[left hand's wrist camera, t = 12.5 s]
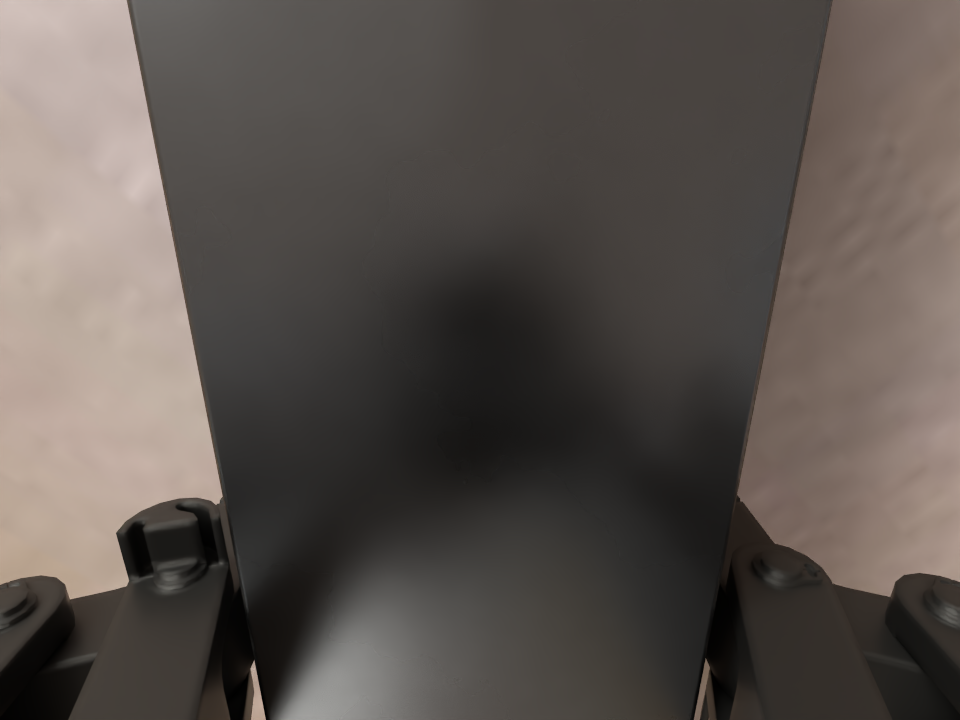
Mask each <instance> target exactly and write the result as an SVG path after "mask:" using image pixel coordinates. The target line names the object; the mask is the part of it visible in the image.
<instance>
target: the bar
mask: <svg viewBox="0 0 960 720" xmlns="http://www.w3.org/2000/svg"><path fill="white" fill-rule="evenodd" d="M127 3H128V8H129V13H130V19H131V24H132V29H133V34H134V39H135V44H136V50H137V55H138V60H139V65H140V70H141V75H142V81H143V86H144V91H145V96H146V101H147V107H148V112H149V117H150V122H151V127H152V132H153V138H154V143H155V148H156V153H157V158H158V163H159V169H160V174H161V179H162V184H163V189H164V194H165V200H166V205H167V210H168V215H169V220H170V225H171V231H172V236H173V241H174V246H175V251H176V257H177V262H178V267H179V272H180V277H181V282H182V288H183V293H184V298H185V303H186V308H187V313H188V319H189V324H190V329H191V334H192V339H193V344H194V350H195V355H196V360H197V365H198V370H199V375H200V381H201V386H202V391H203V396H204V401H205V407H206V412H207V417H208V422H209V427H210V432H211V438H212V443H213V448H214V453H215V458H216V463H217V469H218V474H219V479H220V484H221V489H222V494H223V500H224V505H225V510H226V515H227V520H228V525H229V531H230V536H231V541H232V546H233V551H234V557H235V562H236V567H237V572H238V577H239V582H240V588H241V593H242V598H243V603H244V608H245V613H246V619H247V624H248V629H249V634H250V639H251V644H252V650H253V655H254V660H255V665H256V670H257V675H258V681H259V686H260V691H261V696H262V701H263V707H264V712H265V717H266V720H694V715H695V710H696V705H697V700H698V695H699V689H700V684H701V679H702V674H703V669H704V663H705V658H706V653H707V648H708V643H709V638H710V632H711V627H712V622H713V617H714V612H715V606H716V601H717V596H718V591H719V586H720V581H721V575H722V570H723V565H724V560H725V555H726V549H727V544H728V539H729V534H730V529H731V524H732V518H733V513H734V508H735V503H736V498H737V492H738V487H739V482H740V477H741V472H742V466H743V461H744V456H745V451H746V446H747V441H748V435H749V430H750V425H751V420H752V415H753V409H754V404H755V399H756V394H757V389H758V384H759V378H760V373H761V368H762V363H763V358H764V352H765V347H766V342H767V337H768V332H769V326H770V321H771V316H772V311H773V306H774V301H775V295H776V290H777V285H778V280H779V275H780V269H781V264H782V259H783V254H784V249H785V244H786V238H787V233H788V228H789V223H790V218H791V212H792V207H793V202H794V197H795V192H796V186H797V181H798V176H799V171H800V166H801V161H802V155H803V150H804V145H805V140H806V135H807V129H808V124H809V119H810V114H811V109H812V104H813V98H814V93H815V88H816V83H817V78H818V72H819V67H820V62H821V57H822V52H823V46H824V41H825V36H826V31H827V26H828V21H829V15H830V10H831V5H832V0H127Z"/></svg>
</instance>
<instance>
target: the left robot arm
mask: <svg viewBox="0 0 960 720" xmlns="http://www.w3.org/2000/svg"><path fill="white" fill-rule="evenodd" d="M116 534H117V538H118V542H119V545H120V549H121V552H122V556H123V560H124V563H125V567H126V570H127V574H128V578H129V583H128V585H127V586H126V587H123V588H119V589H116V590H112V591H107V592H103V593H98V594H94V595H89V596H85V597H80V598H75V599H71V600H70V599H69V596H68V593H67V590H66V587H65V584H64V583H62V582H61V581H60V580H59V579H57V578H55V577H48V576H35V577H28V578H21V579H18V580H14V581H10V582H9V583H4V584H2V585H0V720H251V714H252V705H253V697H254V688H253V680H252V675H251V670H250V668H251V666H252V664H253V661H254V655H253V650H252V644H251V639H250V634H249V629H248V624H247V619H246V613H245V608H244V603H243V598H242V593H241V588H240V582H239V577H238V572H237V567H236V562H235V557H234V551H233V546H232V541H231V536H230V531H229V525H228V520H227V515H226V510H225V505H224V500H223V497H222V498H221V500H220V504H217V505H215V504H214V503H213V502H211V501H209V500H205V499H200V498H182V499H176V500H171V501H167V502H163V503H159V504H157V505H155V506H152V507H150V508H148V509H145V510H143V511H141V512H139V513H138V514H136V515H135V516H133V517H132V518H130V519H129V520H127V521H126V522H125V523H124V524H123V525H122V527H121V528H120V529H119V530H118V531H117V533H116ZM706 659H707V662H708V664H709V666H710V670H709V675H708V680H707V685H706V690H705V696H704V701H703V706H702V711H701V717H700V720H960V582H958V581H955V580H951V579H949V578H945V577H941V576H936V575H929V574H922V573H917V574H909V575H904V576H902V577H901V578H900V579H899V580H897V581H896V582H895V585H894V588H893V591H892V594H891V597H887V596H882V595H877V594H873V593H868V592H864V591H859V590H854V589H850V588H845V587H842V586H838V585H835V584H832V582H831V580H830V578H829V577H828V576H827V574H826V573H825V571H824V570H823V569H822V567H820V566H819V565H818V564H816V563H815V562H814V561H813V560H811V559H810V558H809V557H807V556H806V555H803V554H801V553H799V552H797V551H795V550H793V549H791V548H789V547H785V546H781V545H778V544H774V542H773V541H772V540H771V539H770V537H769V536H768V535H767V533H766V532H765V531H764V529H763V528H762V527H761V525H760V524H759V523H758V522H757V520H756V519H755V518H754V516H753V515H752V514H751V512H750V511H749V510H748V508H747V507H746V506H745V504H744V503H743V502H740V498H739V497H738V495H737V498H736V503H735V508H734V513H733V518H732V524H731V529H730V534H729V539H728V544H727V549H726V555H725V560H724V565H723V570H722V575H721V581H720V586H719V591H718V596H717V601H716V606H715V612H714V617H713V622H712V627H711V632H710V638H709V643H708V648H707V653H706Z"/></svg>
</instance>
